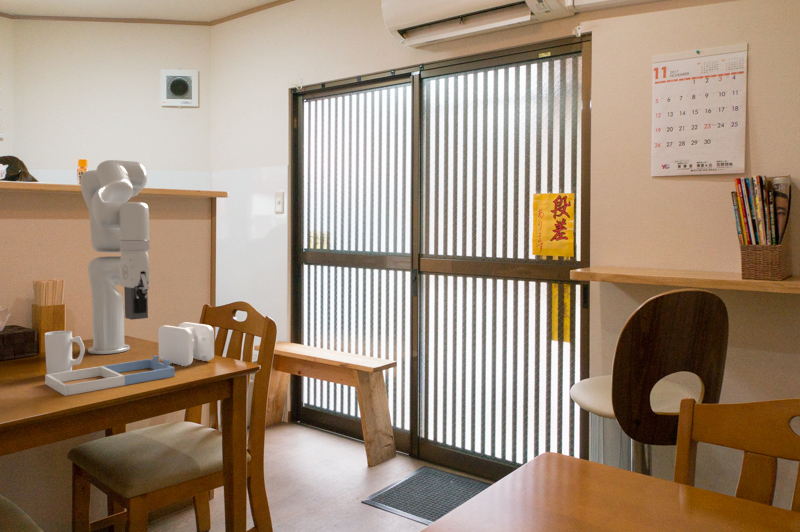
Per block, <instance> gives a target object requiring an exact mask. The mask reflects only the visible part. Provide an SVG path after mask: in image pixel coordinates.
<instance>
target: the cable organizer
mask: <svg viewBox="0 0 800 532" xmlns="http://www.w3.org/2000/svg"><path fill="white" fill-rule="evenodd" d="M157 333H158V356H159V360H161V361H162V362H163V359H168V360H169V363H170V364H169V365H174V364H175V365H178V366H179V365H181V366H180V367H183V366H187V367H188V366H189V365H191V364H192V363H193V361H194V359H195V360H199V361H200V360H203V361H202V362H204V361H207V362H209V361H210V360H213V359H214V357H215V330H214V328H213V327H212V326H211V325H209V324H204V323H198V322H197V323H195V322H188V321H185V322H181V323H179V324H178V326H174V325H168V324H165V325H160V326H159V328H158V331H157ZM193 358H194V359H193ZM172 363H173V364H172Z"/></svg>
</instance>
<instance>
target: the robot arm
mask: <svg viewBox="0 0 800 532" xmlns="http://www.w3.org/2000/svg"><path fill="white" fill-rule="evenodd" d="M80 176H81V177H80V190H81V195H82V197H83V200H84V202H85V204H86V207H87V209H88V213H89V225H90V226H89V227H90V228H89V229H90V241H91V242H90V243H91V246H92V249H93V250H94V251H95V252H97V253H107V254H108V253H110V254H111V253H113V254H115V253H118V254H119V253H120V255H115V256H113V255H110V256H99V257H96V258H92V259H91V260H90V261H89V262H88V265H87V272H88V276H89V277H88V278H89V283H90V290H91V306H92V308H91V310H92V344H93V345H92V346H90V347H88V348H87V352H88V353H89V354H93V355H94V354H95V355H110V354H118V353H124V352H126V351H127V352H128V351H129V350H130V348H131V347H130V345H129V344H128V343H127V344H126V343H125V299H124V297H123V295H122V293H121V292H120V291H119V290H118V289H117V288H116V286H121V287H122V288H124V287H127V288H134V292H135V299H134V313H145V312H146V298H147V297H148V291H149V289H150V287H149V286H150V282H151V273H150V271H151V270H150V260H149V253H150V250H151V248H150V211H149V209H150V208H149V205H148V204H147V203H146V202H141V201H129V200H130V199H131V198H133V197H136V196H138V195H139V193H140V192H141V191H142V190H143V189H144V188H145V186H146V185H147V182H148V174H147V170H146V168H145V166H144V165H143V164H142V163H140V162H138V161H133V160H132V161H131V160H117V159H113V160H112V159H111V160H110V159H109V160H104V161H102V162H100V163H99V164H98V165H97V167H96V169H93V170H87V171H85V172H82V174H81V175H80ZM141 285H142V287H137V286H141ZM138 290H139V292H138Z"/></svg>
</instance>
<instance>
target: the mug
mask: <svg viewBox="0 0 800 532" xmlns="http://www.w3.org/2000/svg"><path fill="white" fill-rule="evenodd" d="M73 343H76V344H77V345H78V346H79V349H80V352H79V355H78V357H77V358H75V359H74V358H73ZM44 348H45V366H46V368H45V369H46V375H47V374H53V373H60V372H67V371H73V366H75V365H77V366H78V365H80V364H81V362H82V360H83V357H84V355H85V351H86V350H85V348H86V347H85V345H84V341H83V340H82V338H81V336H80V335H79V336H74V337H73V331H72V330H55V331H48V332H45V333H44Z"/></svg>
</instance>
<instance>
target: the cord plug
mask: <svg viewBox="0 0 800 532" xmlns="http://www.w3.org/2000/svg"><path fill="white" fill-rule="evenodd" d="M137 287H142V285H141V286H137ZM123 288H124V319H129V320H139V319H142V320H143V319H147V318H149V307H148V305H149V304H148V296H147V298H146V312H145V313H134V299H135V292H134V288H127V287H123ZM138 292H139V290H138Z"/></svg>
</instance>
